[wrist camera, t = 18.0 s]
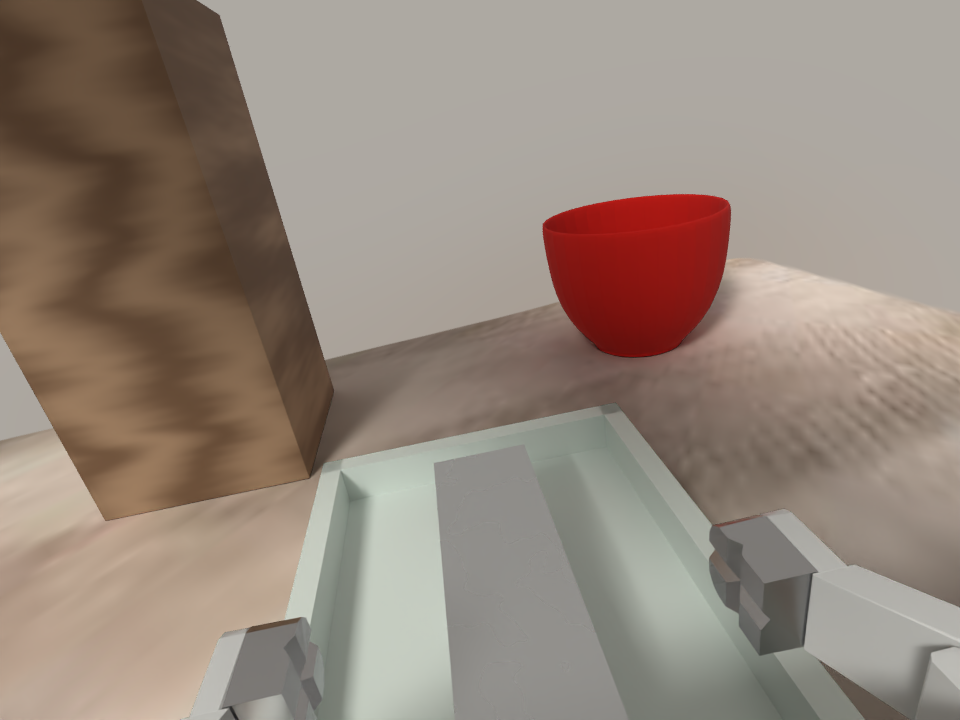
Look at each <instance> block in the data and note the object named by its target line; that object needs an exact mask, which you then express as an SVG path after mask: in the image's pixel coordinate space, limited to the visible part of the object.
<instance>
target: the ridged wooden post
mask: <svg viewBox="0 0 960 720" xmlns="http://www.w3.org/2000/svg"><path fill="white" fill-rule="evenodd" d="M0 333H1V334H2V336H3V338H4V340H5V342H6V343H7V345H8V347H9V349H10V351H11V352H12V354H13V356H14V358H15V360H16V361H17V363H18V365H19V367H20V369H21V370H22V372H23V374H24V376H25V378H26V379H27V381H28V383H29V384H30V386H31V388H32V390H33V392H34V394H35V395H36V397H37V399H38V401H39V403H40V404H41V406H42V408H43V410H44V412H45V413H46V415H47V417H48V419H49V421H50V422H51V424H52V426H53V428H54V430H55V431H56V433H57V435H58V437H59V439H60V440H61V442H62V444H63V446H64V447H65V449H66V451H67V453H68V455H69V456H70V458H71V460H72V462H73V464H74V465H75V467H76V469H77V471H78V473H79V474H80V476H81V478H82V480H83V482H84V483H85V485H86V487H87V489H88V490H89V492H90V494H91V496H92V498H93V499H94V501H95V503H96V505H97V507H98V508H99V510H100V512H101V514H102V516H103V517H104V519H105V521H107V520H112V519H117V518H121V517H126V516H131V515H136V514H140V513H145V512H150V511H155V510H159V509H164V508H169V507H174V506H179V505H183V504H188V503H193V502H198V501H202V500H207V499H212V498H217V497H222V496H226V495H231V494H236V493H241V492H245V491H250V490H255V489H260V488H265V487H269V486H274V485H279V484H284V483H288V482H293V481H298V480H303V479H308V478H310V474H311V471H312V467H313V464H314V460H315V457H316V453H317V449H318V446H319V442H320V439H321V435H322V432H323V428H324V425H325V421H326V417H327V414H328V410H329V407H330V403H331V400H332V396H333V393H334V389H333V386H332V383H331V379H330V376H329V373H328V370H327V366H326V363H325V360H324V357H323V353H322V350H321V347H320V344H319V340H318V337H317V334H316V330H315V327H314V324H313V321H312V318H311V314H310V311H309V307H308V304H307V301H306V298H305V294H304V291H303V288H302V285H301V281H300V278H299V274H298V271H297V268H296V265H295V261H294V258H293V255H292V252H291V248H290V245H289V242H288V239H287V235H286V232H285V229H284V226H283V222H282V219H281V215H280V212H279V209H278V206H277V203H276V199H275V196H274V192H273V189H272V186H271V183H270V179H269V176H268V173H267V170H266V166H265V163H264V160H263V156H262V153H261V150H260V147H259V143H258V140H257V137H256V134H255V130H254V127H253V124H252V120H251V117H250V114H249V110H248V107H247V104H246V101H245V97H244V95H243V91H242V87H241V84H240V81H239V78H238V75H237V71H236V68H235V65H234V61H233V58H232V55H231V51H230V48H229V45H228V42H227V38H226V35H225V32H224V28H223V25H222V22H221V19H220V16H219V15H218V14H217V13H215V12H214V11H212V10H211V9H209V8H207V7H206V6H205V5H203V4H201V3H200V2H198V1H197V0H0Z"/></svg>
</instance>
